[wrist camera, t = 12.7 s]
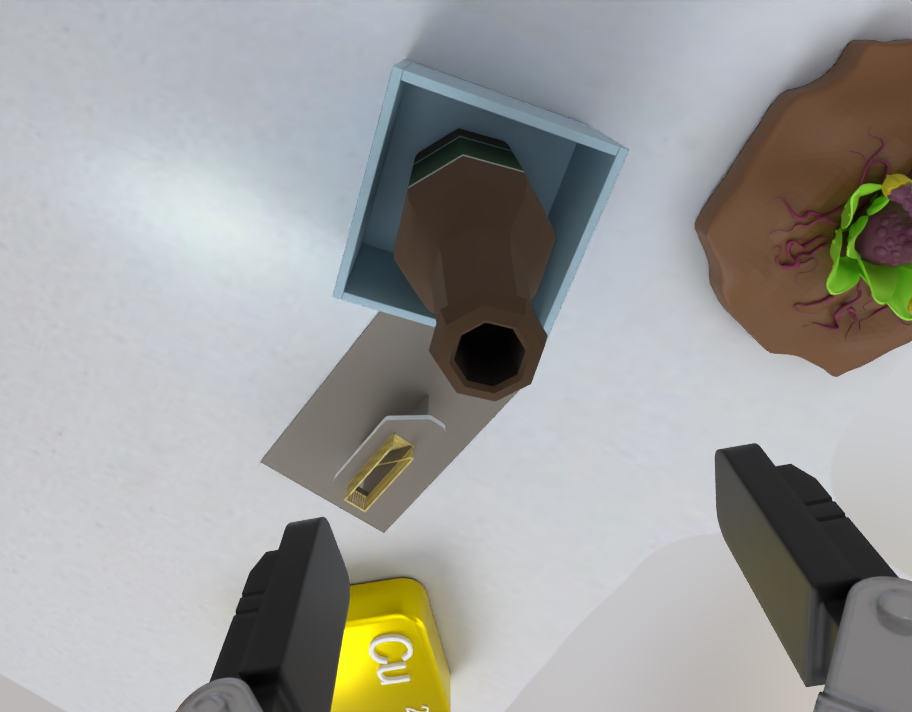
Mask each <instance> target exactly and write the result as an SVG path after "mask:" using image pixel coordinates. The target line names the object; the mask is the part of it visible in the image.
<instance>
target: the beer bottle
mask: <svg viewBox="0 0 912 712" xmlns="http://www.w3.org/2000/svg"><path fill="white" fill-rule="evenodd" d="M555 239H556V237H555V233H554V230H553V227H552V225H551V223H550V221H549V219H548V217H547V215H546V213H545V211H544V209H543V207H542V205H541V203H540V201H539V200H538V198H537V196H536V194H535V192H534V190H533V188H532V186H531V184H530V182H529V180H528V178H527V176H526V174H525V172H524V171H523V169H522V167H521V166H520V164H519V162H518V161H517V159H516V157H515V155H514V154H513V152H512V150H511V149H510V147H509V145H508V144H507V143H506V142H505V141H502V140H499V139H495V138H491V137H488V136H484V135H481V134H477V133H474V132H470V131H467V130H463V129H459V128H458V129H456V130H455V131H453V132H452V133H450V134H448V135H447V136H445V137H443V138H442V139H440V140H438V141H437V142H435V143H433V144H432V145H430V146H429V147H427V148H425V149H424V150H422V151H420V152H419V153H417V155H416V156H415V160H414V164H413V168H412V173H411V177H410V181H409V185H408V190H407V194H406V198H405V203H404V207H403V211H402V215H401V220H400V224H399V228H398V233H397V237H396V241H395V246H394V260H395V262H396V263H397V265H398V266H399V268H400V269H401V271H402V272H403V274H404V275H405V277H406V279H407V280H408V282H409V283H410V285H411V286H412V288H413V289H414V291H415V293H416V294H417V296H418V297H419V299H420V300H421V302H422V303H423V305H424V306H425V308H426V309H427V310H428V311H430V312H432V313H434V314H435V317H436V326H435V330H434V333H433V337H432V340H431V344H430V348H429V352H430V353H431V355H432V357H433V358H434V360H435V361H436V363H437V364H438V366H439V367H440V369H441V370H442V372H443V373H444V375H445V376H446V378H447V379H448V381H449V382H450V384H451V385H452V387H453V388H454V390H455V391H456V393H459V394H464V395H468V396H472V397H477V398H481V399H486V400H490V401H495V402H496V401H498V400H500V399H502V398H504V397H506V396H508V395H510V394H512V393H514V392H516V391H518V390H520V389H522V388H524V387H526V386H528V385H530V384H531V382H532V380H533V377H534V374H535V371H536V369H537V366H538V363H539V360H540V358H541V355H542V352H543V349H544V346H545V343H546V340H547V337H548V335H547V333H546V332H545V330H544V328H543V326H542V325H541V323H540V321H539V319H538V318H537V316H536V314H535V312H534V310H533V309H532V304H531V300H532V299H533V298H534V297H535V296H536V294H537V291H538V288H539V285H540V282H541V279H542V277H543V274H544V271H545V268H546V265H547V262H548V259H549V256H550V253H551V250H552V248H553V245H554V242H555Z"/></svg>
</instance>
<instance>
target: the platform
mask: <svg viewBox="0 0 912 712" xmlns="http://www.w3.org/2000/svg"><path fill="white" fill-rule="evenodd" d="M434 330H435V327H432V326H429V325H426V324H422V323H419V322H415V321H412V320H409V319H405V318H402V317H398V316H395V315H392V314H388V313H385V312H381V311H380V312H379V313H378V314H377V316H376V317H375V318H374V319H373V321H372V322H371V323H370V324H369V326H368V327H367V328H366V329H365V331H364V332H363V333H362V334H361V336H360V337H359V338H358V340H357V341H356V342H355V343H354V345H353V346H352V347H351V348H350V350H349V351H348V352H347V353H346V355H345V356H344V357H343V358H342V360H341V361H340V362H339V363H338V365H337V366H336V367H335V369H334V370H333V371H332V372H331V374H330V375H329V376H328V377H327V379H326V380H325V381H324V382H323V384H322V385H321V386H320V387H319V389H318V390H317V391H316V392H315V394H314V395H313V396H312V398H311V399H310V400H309V401H308V403H307V404H306V405H305V406H304V408H303V409H302V410H301V411H300V413H299V414H298V415H297V416H296V418H295V419H294V420H293V422H292V423H291V424H290V425H289V427H288V428H287V429H286V430H285V432H284V433H283V434H282V435H281V437H280V438H279V439H278V440H277V442H276V443H275V444H274V445H273V447H272V448H271V449H270V451H269V452H268V453H267V454H266V456H265V457H264V458H263V459H262V461H261V463H263V464H265V465H267V466H268V467H270V468H272V469H274V470H275V471H277V472H279V473H280V474H282V475H284V476H286V477H287V478H289V479H291V480H293V481H294V482H296V483H298V484H300V485H301V486H303V487H305V488H307V489H308V490H310V491H312V492H314V493H315V494H317V495H319V496H321V497H322V498H324V499H326V500H327V501H329V502H331V503H333V504H334V505H336V506H338V507H340V508H341V509H343V510H345V511H347V512H348V513H350V514H352V515H354V516H355V517H357V518H359V519H361V520H362V521H364V522H366V523H368V524H369V525H371V526H373V527H374V528H376V529H378V530H380V531H381V532H383V533H384V532H385V531H386V530H387V529H388V528H389V527H390V526H391V525H392V524H393V523H394V522H395V521H396V520H397V519H398V518H399V517H400V515H401V514H402V513H403V512H404V511H405V510H406V509H407V508H408V507H409V506H410V505H411V504H412V503H413V502H414V501H415V500H416V499H417V498H418V496H419V495H420V494H421V493H422V492H423V491H424V490H425V489H426V488H427V487H428V486H429V485H430V484H431V483H432V482H433V481H434V480H435V479H436V477H437V476H438V475H439V474H440V473H441V472H442V471H443V470H444V469H445V468H446V467H447V466H448V465H449V464H450V463H451V462H452V461H453V460H454V459H455V457H456V456H457V455H458V454H459V453H460V452H461V451H462V450H463V449H464V448H465V447H466V446H467V445H468V444H469V443H470V442H471V441H472V440H473V438H474V437H475V436H476V435H477V434H478V433H479V432H480V431H481V430H482V429H483V428H484V427H485V426H486V425H487V424H488V423H489V422H490V421H491V419H492V418H493V417H494V416H495V415H496V414H497V413H498V412H499V411H500V410H501V409H502V408H503V407H504V406H505V405H506V404H507V403H508V402H509V401H510V399H511V398H512V397H513V396H514V395H515V394H516V393H517V392H518V391H519V390H518V391H516V392H514V393H512V394H510V395H508V396H506V397H504V398H502V399H500V400H498V401H496V402H495V401H490V400H486V399H481V398H477V397H472V396H468V395H464V394H459V393H456V391H455V390H454V388H453V387H452V385H451V384H450V382H449V381H448V379H447V378H446V376H445V375H444V373H443V372H442V370H441V369H440V367H439V366H438V364H437V363H436V361H435V360H434V358H433V357H432V355H431V353H430V352H429V348H430V344H431V340H432V337H433V333H434Z"/></svg>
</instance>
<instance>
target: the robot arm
mask: <svg viewBox="0 0 912 712" xmlns="http://www.w3.org/2000/svg"><path fill="white" fill-rule="evenodd" d="M715 481H716V509H717V517H718V522H719V526H720V529H721V532H722V535H723V537H724V539H725V541H726V543H727V545H728V547H729V549H730V550H731V552H732V554H733V556H734V558H735V560H736V561H737V563H738V565H739V567H740V568H741V570H742V572H743V574H744V576H745V578H746V579H747V581H748V583H749V585H750V587H751V588H752V590H753V592H754V594H755V596H756V598H757V599H758V601H759V603H760V605H761V607H762V608H763V610H764V612H765V614H766V616H767V617H768V619H769V621H770V623H771V625H772V626H773V628H774V630H775V632H776V633H777V635H778V637H779V639H780V641H781V643H782V645H783V646H784V648H785V650H786V652H787V654H788V655H789V657H790V659H791V661H792V663H793V664H794V666H795V668H796V670H797V672H798V673H799V675H800V677H801V679H802V680H803V682H804V684H805V686H806V687H810V686H817V685H824V684H825V688H824V691H823V692H819V695H818V697H817V700H816V704H815V708H814V711H813V712H912V581H909V580H906V579H901V578H899V577H898V576H897V575H896V574H895V573H894V571H893V570H892V569H891V568H890V567H889V565H888V564H887V563H886V562H885V561H884V560H883V558H882V557H881V556H880V555H879V554H878V552H877V551H876V550H875V549H874V548H873V547H872V545H871V544H870V543H869V542H868V540H867V539H866V538H865V537H864V536H863V534H862V533H861V532H860V531H859V530H858V528H857V527H856V526H855V525H854V524H853V522H852V521H851V520H850V519H849V518H848V517H847V518H846V516H845V513H844V512H843V511H842V509H841V508H840V507H839V506H838V505H837V503H836V502H835V501H834V502H833V501H832V497H831V496H830V495H829V494H828V493H827V491H826V490H825V489H824V488H823V487H822V485H821V484H820V483H819V482H818V481H817V479H816V478H814V477H812V476H811V475H809V474H807V473H805V472H804V471H802V470H800V469H799V468H797V467H795V466H794V465H792V464H787V465H781V466H775V465H774V464H773V463H772V461H771V460H770V459H769V457H768V456H767V455H766V453H765V452H764V451H763V450H762V448H761V447H760V446H759V445H758V444H756V443H753V444H747V445H742V446H736V447H730V448H724V449H719V450H717V451H716V453H715ZM349 601H350V584H349V577H348V573H347V570H346V567H345V564H344V561H343V559H342V556H341V553H340V551H339V548H338V546H337V543H336V540H335V538H334V535H333V532H332V530H331V527H330V524H329V522H328V520H327V519H326V518H325V517H320V518H314V519H308V520H303V521H297V522H291V523H289V524H288V525H287V526H286V528H285V531H284V534H283V537H282V540H281V543H280V546H279V549H278V550H275V551H269V552H266V553H265V554H264V556H263V557H262V558H261V559H260V560H259V562H258V563H257V564H256V565H255V567H254V568H253V569H252V570H251V572H250V573H249V576H248V579H247V581H246V584H245V587H244V590H243V592H242V598H240V600H239V603H238V606H237V609H236V616H234V617H233V620H232V622H231V625H230V628H229V630H228V633H227V636H226V639H225V641H224V644H223V647H222V649H221V652H220V655H219V658H218V660H217V663H216V666H215V668H214V671H213V674H212V677H211V679H210V682H209V683H207V684H205V685H203V686H202V687H200V688H198V689H197V690H196V691H194V692H193V693H192V694H191V695H190V696H189V697H187V698H186V699H185V700H184V702H183V703H182V704H181V705H180V706H179V708H178V709H177V711H176V712H331V706H332V700H333V694H334V688H335V683H336V677H337V671H338V665H339V659H340V654H341V648H342V642H343V636H344V630H345V625H346V619H347V613H348V607H349Z"/></svg>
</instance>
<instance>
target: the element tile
mask: <svg viewBox="0 0 912 712" xmlns="http://www.w3.org/2000/svg"><path fill="white" fill-rule="evenodd" d="M331 712H450V672H449V668H448V665H447V662H446V658H445V655H444V651H443V648H442V644H441V641H440V637H439V634H438V630H437V627H436V623H435V620H434V616H433V613H432V610H431V606H430V603H429V599H428V596H427V593H426V591H425V589H424V587H423V586H422V585H421V584H420V583H419V582H417V581H415V580H413V579H407V578H397V579H390V580H384V581H377V582H371V583H364V584H358V585H351V586H350V601H349V607H348V613H347V619H346V625H345V630H344V636H343V642H342V648H341V654H340V659H339V665H338V671H337V677H336V683H335V688H334V694H333V700H332V706H331Z"/></svg>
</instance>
